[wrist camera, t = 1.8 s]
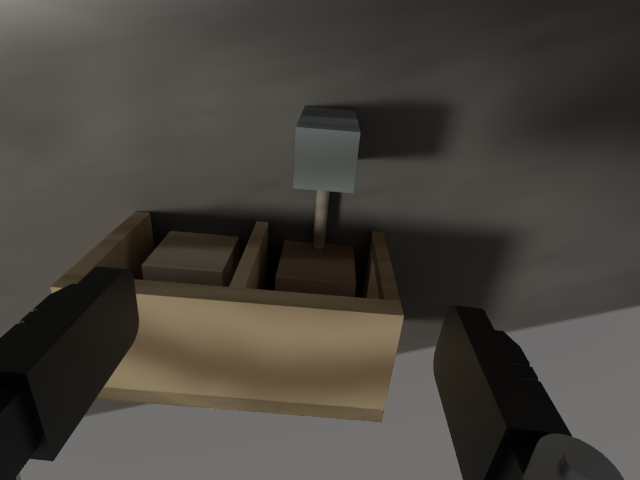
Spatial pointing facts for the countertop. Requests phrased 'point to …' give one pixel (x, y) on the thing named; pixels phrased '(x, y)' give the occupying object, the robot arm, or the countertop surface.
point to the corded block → (322, 202)
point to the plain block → (193, 259)
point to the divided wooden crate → (252, 336)
